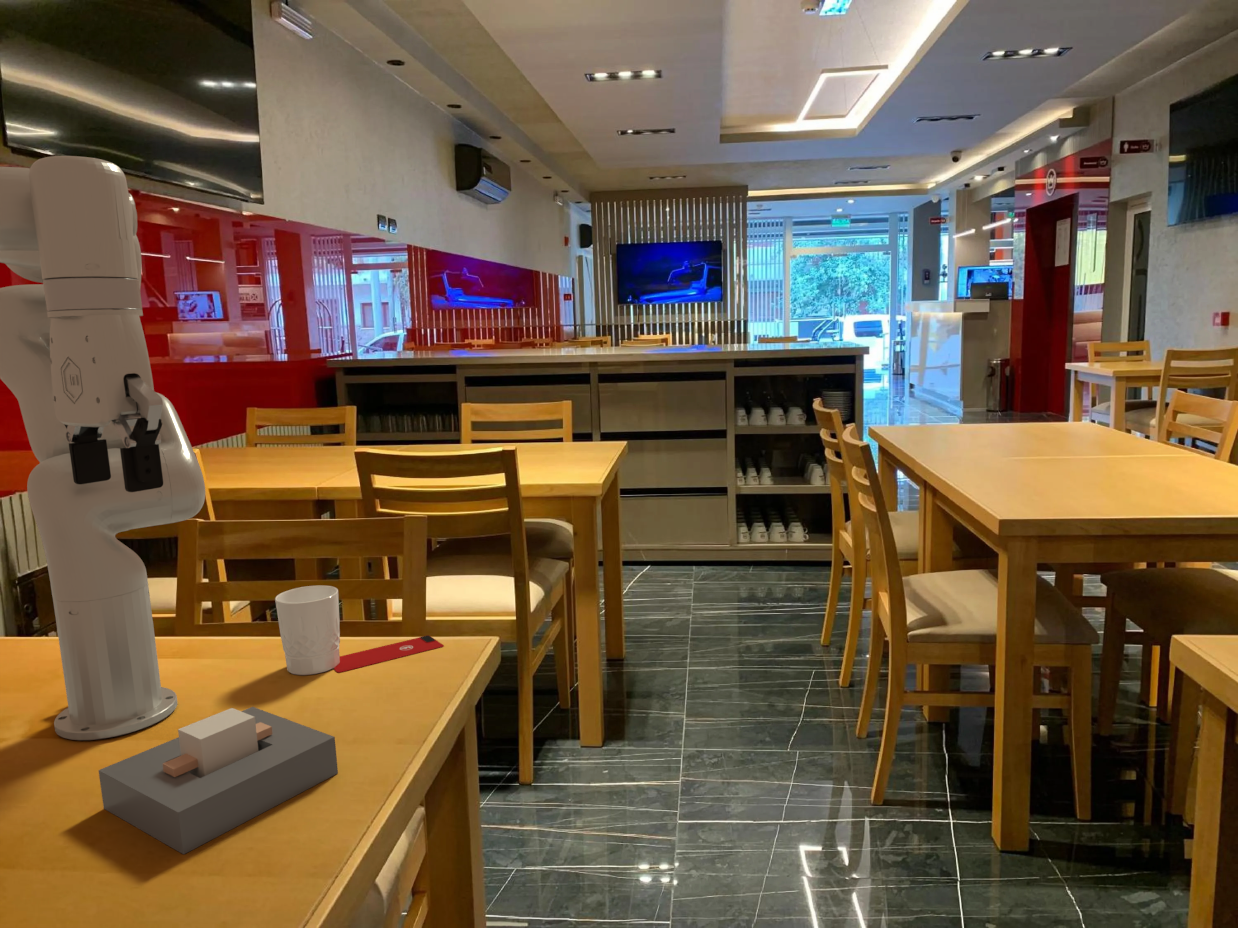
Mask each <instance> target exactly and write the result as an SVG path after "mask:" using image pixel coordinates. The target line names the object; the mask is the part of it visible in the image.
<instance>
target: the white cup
mask: <svg viewBox="0 0 1238 928" xmlns="http://www.w3.org/2000/svg"><path fill="white" fill-rule="evenodd" d="M274 601H275V607H276V614H277V618H278V619H277V621H278V627H279V634H280V639H281V644H282V649H283V652H284V656H285V664H286V671H287V672H289V673H291V674H292V675H296V676H309V675H310V676H311V675H316V674H321V673H324V672H328V671H330V670H334V669H333V668H335V667H336V666H337V665H338V664H339V663H340V656H341V655H340V643H341V639H340V637H341V635H340V634H341V629H340V622H341V621H340V606H339V605H340V603H339V589H338V588H337V587H335V586H332V585H323V584H322V585H321V584H320V585H309V586H308V585H307V586H301V587H295V588H292V589H289V590H286V591H283V592H281V593H279V594H277V595H276V596H275V597H274Z"/></svg>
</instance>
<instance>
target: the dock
mask: <svg viewBox="0 0 1238 928" xmlns="http://www.w3.org/2000/svg"><path fill="white" fill-rule="evenodd" d="M240 711H241V712H244V713H246V714H249V715H251V716H254V717H255V723H256V724H257V723H259V722H261V723H264V724H266V725H269V726H271V727H272V735H269V736H267V737H265V738H263V739H260V740H258V741H257V742H258V752H256V753H254V754H252V755H249V756H247V757H245V758H243V759H241V760H239V761H236V762H234V763H232V764H230V765H228V766H225V767H223V768H221V769H219V770H217V771H215V772H212V773H210V774H208V775H206V776H204V777H202V778H199V777H197V776H195V775H193V774H190V773H188V772H186V773H183V774H181V775H179V776H177V777H173V776H171V775H169V774H167V773H165V772H164V771H163V763H165V762H167V761H170V760H172V759H174V758H177V757H179V756H181V750H180V741H179V736H178V737H175V738H173V739H171V740H169V741H166V742H163V743H161V744H160V745H159V744H158V745H156V746H154V747H152V748H149V749H147V750H144V751H142V752H140V753H137V754H135V755H132V756H130V757H127V758H124V759H123V760H119V761H118V762H115V763H112V764H110V765H108V766H105V767H103V768H100V769H98V776H99V784H100V791H101V798H102V807H103V809H104V810H106V812H107V811H108V812H109V813H111V814H113V815H114V816H116V817H117V818H120V819H121V820H123V821H125V822H126V823H128V824H130V825H132V826H133V827H135V828H137V829H138V830H140V831H142V832H143V833H146V834H147V835H149V836H150V837H152V838H154V839H156V840H158V841H159V842H161V843H163V844H164V845H165V846H168V847H170V848H172V849H173V850H175V851H177V852H178V853H180V854H182V855H186V854H187V853H189V852H191V851H193V850H195V849H197V848H200V846H202V845H205V844H207V843H208V842H210V841H212V840H214V839H216V838H218V837H220V836H222V835H223V834H226V833H227V832H229V831H231V830H233V829H235V828H237V827H239V826H240V825H242V824H245V823H246V822H248V821H250V820H252V819H254V818H256V817H258V816H260V815H261V814H264V813H265V812H267V811H270V810H271V809H273V808H275V807H277V806H278V805H281V804H282V803H284V802H286V801H288V800H290V799H292V798H294V797H297V796H298V795H300V794H301V793H304V792H305V791H307V790H309V789H312V787H315V786H316V785H318V784H320V783H322V782H324V781H326V780H328V779H329V778H331V777H333V776H335V775H337V774H339V769H338V760H337V757H338V756H337V748H336V739H335V738H336V737H335V736H333V735H332V734H331V735H330V734H328V733H325V732H322V731H319V730H317V729H314V728H312V727H309V726H306V725H303V724H301V723H298V722H296V721H292V720H290V719H287V718H285V717H282V716H280V715H276V714H274V713H271V712H268V711H265V710H263V709H260V708H257V707H255V706H251V707H248V708H247V709H246V708H245V709H243V710H240Z"/></svg>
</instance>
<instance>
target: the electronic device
mask: <svg viewBox="0 0 1238 928" xmlns="http://www.w3.org/2000/svg"><path fill="white" fill-rule="evenodd" d="M444 647H445V645H444V644H442V643H441V642H440V641H438V640H437V639H436V638H434V637H432V636H431V635H430V634H427V635H423V636H422V635H421V636H419V637H415V638H411V639H407V640H404V641H399V642H394V643H391V644H386V645H381V646H378V647H374V648H369V649H365V650H362V651H357V652H352V653H348V654H344V655H340V663H339V664H338V665H337V666H336V667H335V668H333V669H332V670H334V671H335V672H336V673H337V674H342V673H346V672H349V671H353V670H358V669H362V668H366V667H369V666H373V665H378V664H383V663H386V662H388V661H393V660H397V659H401V658H404V657H405V658H406V657H409V656H413V655H417V654H421V653H425V652H429V651H432V650H433V651H434V650H437V649H438V650H439V649H441V648H444Z"/></svg>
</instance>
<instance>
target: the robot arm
mask: <svg viewBox="0 0 1238 928" xmlns="http://www.w3.org/2000/svg"><path fill="white" fill-rule="evenodd" d="M127 182H128V181H127V177H126V174H125V173H124V171H123V169H121V168H120V166H118V165H117V164H116V163H113V162H111V161H108V160H105V159H100V158H97V157H87V156H79V155H78V156H77V155H55V156H54V155H52V156H47V157H46V156H45V157H42V158H39V159H37V160H36V161H34V162H33V163H32V164H31V166H30V167H19V166H17V167H16V166H0V263H1V264H5V265H6V266H7V268H9V269H10V271H12V272H13V273H14V274H16V275H17V276H19V277H21V278H23V279H25V280H28V281H31V282H35V283H37V284H34V283H33V284H19V285H18V284H16V285H15V284H14V285H9V286H5V287H4V286H3V287H0V380H1V381H2V382H3V384H5V385H6V387H7V388H8V389H9V390H10V391H11V393H12V395H14V397H15V398H16V399H17V401H18V405H19V409H20V413H21V416H22V420H23V421H22V422H23V424H24V428H25V431H26V434H27V439H28V442H29V445H30V447H31V451H32V453H33V454H34V455H33V456H34V457H35V458H36V459H37V461H38V462H39V464H36V466H34V467H33V469H32V470H31V472H30V473H29V475H28V478H27V483H26V484H27V486H26V488H27V497H28V501H29V505H30V509H31V511H32V514H33V518H34V521H35V523H36V527H37V530H38V532H39V537H40V539H41V542H42V546H43V550H44V555H45V561H46V564H47V565H46V566H47V570H48V576H49V577H48V578H49V581H50V590H51V595H52V596H51V597H52V602H53V609H54V615H55V622H56V631H57V637H58V642H59V643H58V644H59V651H60V659H61V664H62V665H61V666H62V673H63V679H64V685H65V692H66V693H65V694H66V700H67V706H68V707H67V708H65V709H63V710H62V711H61V712H60V713H58V715H57V716H56V717H55V718H54V722H53V725H54V732H55V733H56V735H58V736H59V737H61V738H64V739H68V740H72V741H93V740H95V741H96V740H103V739H108V738H109V739H110V738H113V737H114V738H115V737H119V736H123V735H127V734H130V733H133V732H137V731H140V730H143V729H145V728H148V727H150V726H152V725H155V724H156V723H159V722H160V721H162V720H164V719H166V718H167V717H168V716H170V715H171V714H172V713H173V712H174V711H175V710H176V708H177V706H178V697H177V693H176V692H175V691H174V690H173V689H170V688H167V687H165V686H162V685H161V684H162V683H161V677H160V676H161V675H160V668H159V659H158V652H157V644H156V636H155V628H154V627H155V626H154V621H153V612H152V603H151V598H150V596H151V595H150V588H149V581H148V575H147V574H148V573H147V568H146V566H145V563H144V562H143V560H142V559H141V557H140V556H139V555H138V554H137V553H136V552H135V551H134V550H133V549H131V548H129V547H128V546H127V545H125V544H124V543H123V542H121V541H120V540H118V539H117V537H116V535H118V533H121V532H127V531H130V530H135V529H141V528H147V527H154V526H162V525H169V524H174V523H179V522H183V521H187V520H189V519H192V518H193V517H195V516H196V515H197V514H198V513H200V511H201V509H202V508H203V507H204V503H205V499H206V485H205V480H204V474H203V472H202V469H201V465H200V462H199V460H198V459H197V456H196V454H195V451H194V449H193V447H192V444H191V442H190V440H189V438H188V436H187V435H188V434H187V432H186V431H185V428H184V425H183V424H182V421H181V419H180V416H179V414H178V412H177V410H176V409H175V406H174V405H173V403H172V402H171V401H170V400H169V398H167V397H165V395H164V394H162V393H159V392H156V391H155V389H154V388H155V387H154V379H153V373H152V368H151V361H150V357H149V351H148V347H147V342H146V338H145V334H144V330H143V325H142V322H141V317H143V316H144V313H143V303H142V296H141V295H142V294H141V286H142V268H143V267H142V262H143V261H142V251H141V250H142V249H141V245H140V242H139V238H138V236H137V232H138V212H137V211H138V210H137V209H136V202H135V199H134V197H133V195H132V194H131V193H130V192H129V188H128V187H129V186H128V183H127ZM39 283H41V284H39Z"/></svg>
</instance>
